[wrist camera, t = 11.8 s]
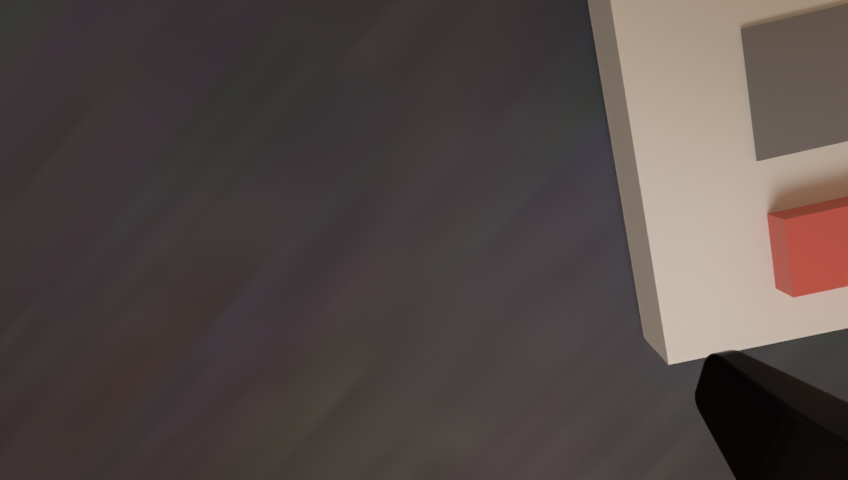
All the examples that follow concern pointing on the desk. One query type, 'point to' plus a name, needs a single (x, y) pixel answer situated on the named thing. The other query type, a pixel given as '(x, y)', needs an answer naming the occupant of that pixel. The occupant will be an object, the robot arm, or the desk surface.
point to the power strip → (730, 166)
